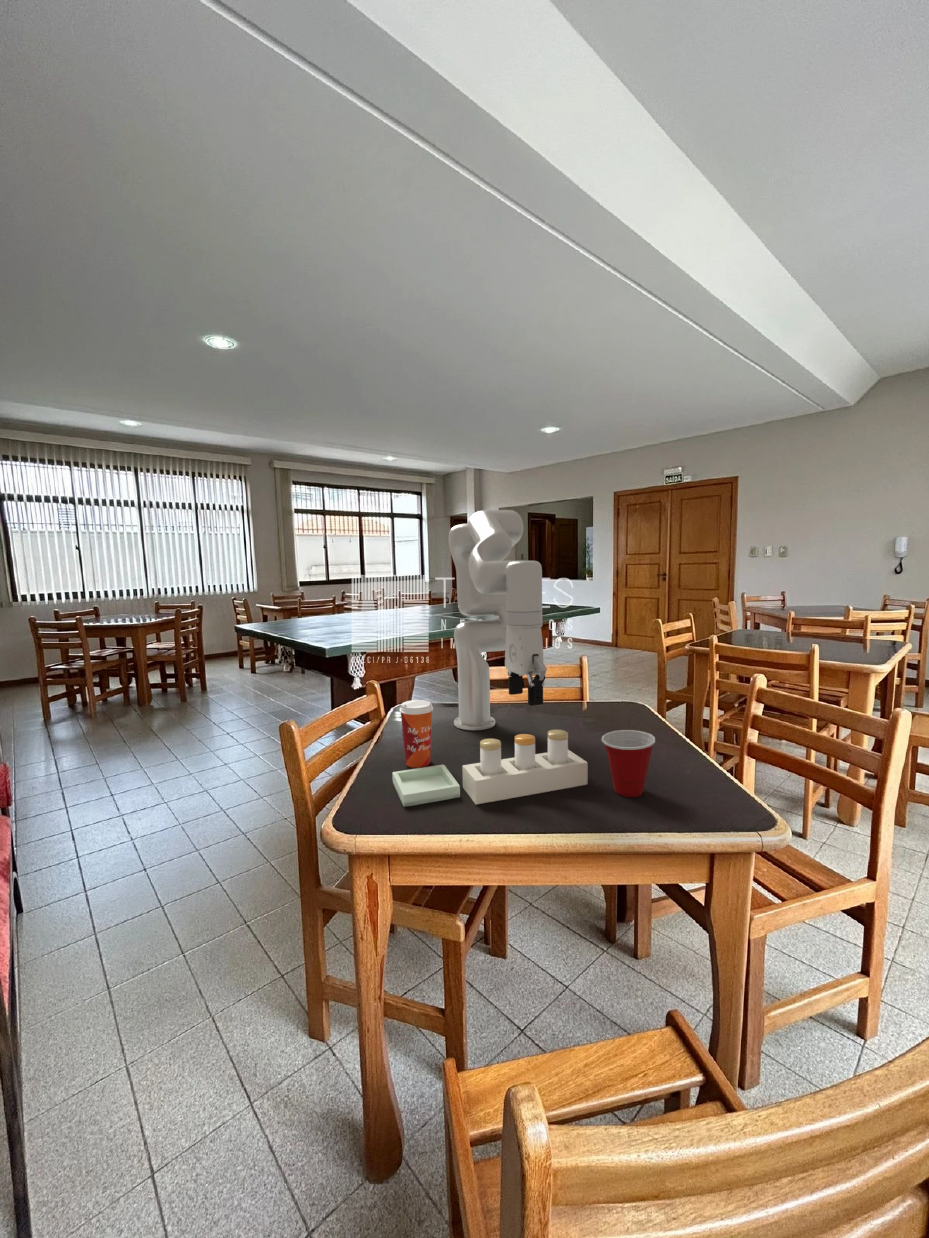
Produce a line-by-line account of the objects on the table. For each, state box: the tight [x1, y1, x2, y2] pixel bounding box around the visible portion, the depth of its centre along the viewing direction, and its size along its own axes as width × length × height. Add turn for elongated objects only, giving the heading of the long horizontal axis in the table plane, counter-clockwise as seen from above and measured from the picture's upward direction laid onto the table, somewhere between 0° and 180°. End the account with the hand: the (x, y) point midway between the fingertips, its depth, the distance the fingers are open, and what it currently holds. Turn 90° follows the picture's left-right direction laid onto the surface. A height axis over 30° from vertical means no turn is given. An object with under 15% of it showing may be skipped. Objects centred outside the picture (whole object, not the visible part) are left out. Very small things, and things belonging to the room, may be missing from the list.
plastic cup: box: [601, 729, 656, 798], centre depth 106 cm, size 11×11×12 cm
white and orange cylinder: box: [514, 733, 536, 771], centre depth 109 cm, size 4×4×11 cm
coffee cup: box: [399, 699, 434, 769], centre depth 123 cm, size 8×8×15 cm
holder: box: [462, 749, 589, 805], centre depth 110 cm, size 8×26×5 cm, turn 109°
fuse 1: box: [479, 738, 502, 777], centre depth 107 cm, size 4×4×11 cm
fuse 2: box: [547, 729, 569, 765], centre depth 112 cm, size 4×4×11 cm
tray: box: [391, 764, 461, 808], centre depth 109 cm, size 12×12×2 cm
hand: (525, 699), depth 107 cm, fingers open, 9 cm apart
